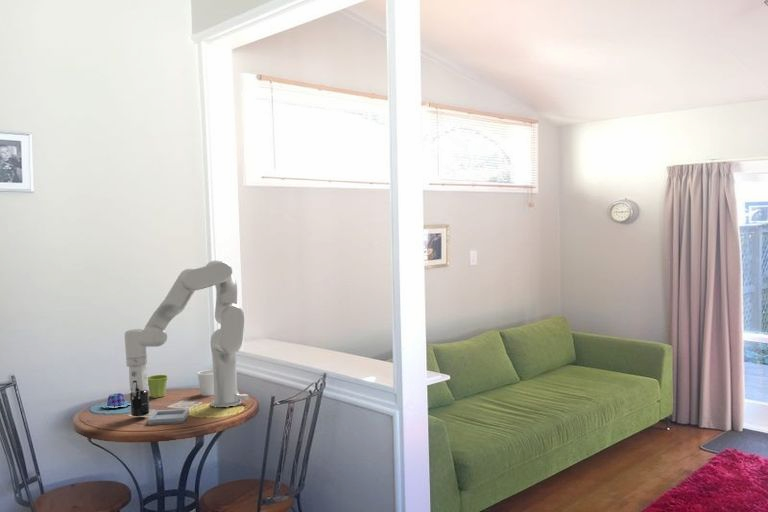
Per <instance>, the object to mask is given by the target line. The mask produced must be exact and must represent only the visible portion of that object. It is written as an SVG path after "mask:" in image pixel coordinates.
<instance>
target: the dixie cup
mask: <svg viewBox="0 0 768 512" xmlns="http://www.w3.org/2000/svg"><path fill="white" fill-rule="evenodd" d="M196 374H197V379H198V382H199V385H198V386H199V391H200V395H201V396H203V397H207V396H209V397H210V396H214V383H213V369H207V370H206V369H205V370H202V371H197V373H196Z"/></svg>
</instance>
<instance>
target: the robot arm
mask: <svg viewBox="0 0 768 512" xmlns="http://www.w3.org/2000/svg"><path fill="white" fill-rule="evenodd" d="M214 286H215V289H216V290H215V291H216V294H215V295H216V298H215V309H214V318H215V321H216V322H217V324H219V325H220V328H218V329H216V330H215V331H213V333H212V335H211V336H210V341H209V343H210V351H211V356H212V358H211V359H212V370H213V383H214V395H213V400H212V401H210V403H209V404H210V407H212V406H216V407H226V408H230V407H229V406H233V407H236V406H239V405H241V404H242V400H249V394H246V393H240V392H239V391H238V381H237V380H238V377H237V376H238V375H237V374H238V373H237V358H236V357H237V356H236V354H237V353H238V352H239V351H240V350H241V348H242V346H243V342H244V341H243V340H244V339H243V338H244V330H245V329H244V327H245V314H244V313H245V312H244V310H243V309H242V308H241V307H240V306H239V305H238V285H237V281H236V279H235V277H234V275H233V267H232V266H231V264H230V263H228V262H226V261H223V260H211V261H209V262H207V263H206V265H205V266H202V267H197V268H186V269H184V270H182V271H181V272H180V273H179V275H178V276H177V278H176V280H175V281H174V283H173V285H172V286H171V288H170V289H169V291H168V293H167V295H166V297H165V298H164V299H163V300H162V301H161V303H160V305H159V306H158V307H157V308H156V310H155V311H154V312H153V314H152V315H151V317H150V318H149V319H148V321H147V323H146V325H145V327H144V328H143V329H142V328H133V329H128V330H125V332H124V345H125V360H126V367H128V374H129V378H128V379H129V391H130V393H131V392H132V400H133V409H141V408H142V400H141V398H140V396H141V391H144V390H147V388H149V386H148V377H149V376H148V369H147V364H148V358H147V347H149V348H152V347H155V348H156V347H161V346H163V345H164V344H165V343H166V342H167V340H168V334H167V332H166V328H167V327H168V325H169V324H170V323H171V321H172V320H173V319H174V318H175V317H176V316H178V315H179V314H181V313H182V312H183V311H184V310H185V309H186V307H187V305H188V303H189V301H190V300H191V298H193V297H192V296H193V295H194V294H195V292H196V291H200V290H204V289H207V288H211V287H214ZM138 389H139V390H138ZM136 390H138V391H136ZM216 407H215V408H216Z"/></svg>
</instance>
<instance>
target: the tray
mask: <svg viewBox="0 0 768 512" xmlns="http://www.w3.org/2000/svg"><path fill="white" fill-rule="evenodd" d="M189 415H190V409H189V408H181V409H163V410H155V411H154V412H153V413H152V414H151V415H150V417H148V419H147V425H148V426H157V425H170V424H172V425H173V424H184V423H185V421H186V420H187V419H188V416H189Z"/></svg>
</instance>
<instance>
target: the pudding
mask: <svg viewBox="0 0 768 512" xmlns="http://www.w3.org/2000/svg"><path fill="white" fill-rule="evenodd" d="M126 402H127V401H126V397H125V394H123V393H120V392H119V393H112V394H111V393H110V395H108V398H107V403H106V404H107V406H114V407H115V406H121V405H124V404H126Z"/></svg>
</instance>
